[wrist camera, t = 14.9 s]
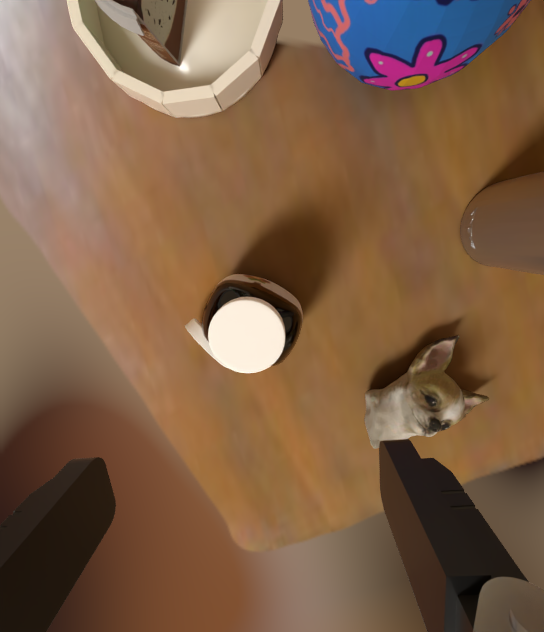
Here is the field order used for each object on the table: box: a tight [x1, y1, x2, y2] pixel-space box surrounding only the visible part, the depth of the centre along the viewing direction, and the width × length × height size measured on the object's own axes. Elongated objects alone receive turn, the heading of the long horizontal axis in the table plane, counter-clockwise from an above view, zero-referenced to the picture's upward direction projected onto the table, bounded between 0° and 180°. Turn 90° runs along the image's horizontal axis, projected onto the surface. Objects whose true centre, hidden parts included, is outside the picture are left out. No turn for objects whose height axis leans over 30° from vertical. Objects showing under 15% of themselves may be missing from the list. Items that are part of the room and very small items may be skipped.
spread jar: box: [185, 274, 303, 373], centre depth 34 cm, size 12×11×12 cm
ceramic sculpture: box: [365, 335, 489, 448], centre depth 37 cm, size 11×9×15 cm
